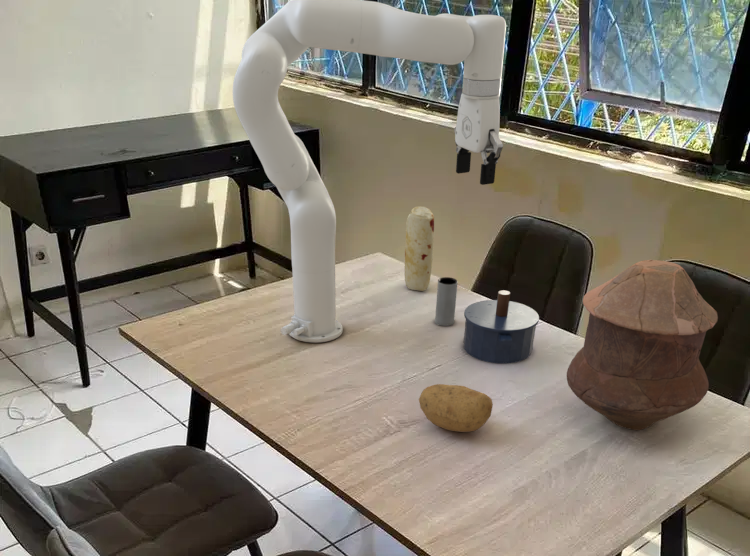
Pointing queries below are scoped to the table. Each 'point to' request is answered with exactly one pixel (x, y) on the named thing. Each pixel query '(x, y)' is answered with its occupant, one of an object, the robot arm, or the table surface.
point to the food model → (419, 248)
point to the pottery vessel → (643, 346)
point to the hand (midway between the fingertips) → (474, 178)
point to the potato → (455, 407)
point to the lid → (501, 315)
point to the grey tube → (446, 301)
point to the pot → (498, 344)
